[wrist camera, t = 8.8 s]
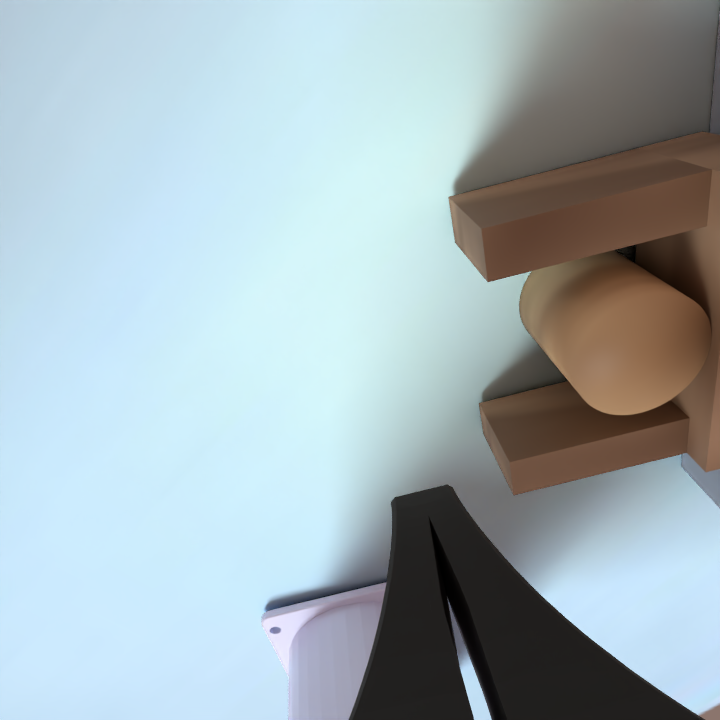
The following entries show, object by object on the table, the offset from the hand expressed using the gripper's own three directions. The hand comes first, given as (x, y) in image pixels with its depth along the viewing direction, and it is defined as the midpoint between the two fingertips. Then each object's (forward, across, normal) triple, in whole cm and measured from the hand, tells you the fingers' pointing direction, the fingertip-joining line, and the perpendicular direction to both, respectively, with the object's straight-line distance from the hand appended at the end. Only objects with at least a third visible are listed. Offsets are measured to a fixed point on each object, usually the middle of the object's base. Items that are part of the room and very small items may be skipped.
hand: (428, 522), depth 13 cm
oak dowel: (+8, -7, 0) cm, 11 cm away
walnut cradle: (+8, -7, 0) cm, 11 cm away
